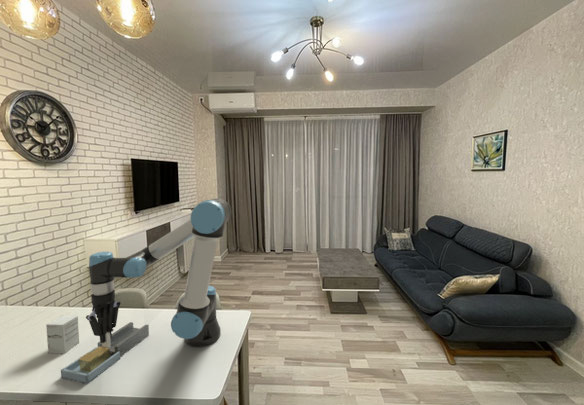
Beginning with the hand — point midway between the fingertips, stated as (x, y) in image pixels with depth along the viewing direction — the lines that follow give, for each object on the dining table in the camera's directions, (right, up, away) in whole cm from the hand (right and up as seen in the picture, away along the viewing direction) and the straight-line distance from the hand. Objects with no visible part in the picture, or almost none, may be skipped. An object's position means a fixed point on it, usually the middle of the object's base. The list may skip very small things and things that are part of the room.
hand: (106, 348), depth 103 cm
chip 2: (-1, -3, -2) cm, 4 cm away
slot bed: (+2, -3, +9) cm, 9 cm away
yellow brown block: (-1, -1, -5) cm, 5 cm away
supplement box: (-22, -4, +6) cm, 23 cm away
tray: (-1, -4, -6) cm, 7 cm away
